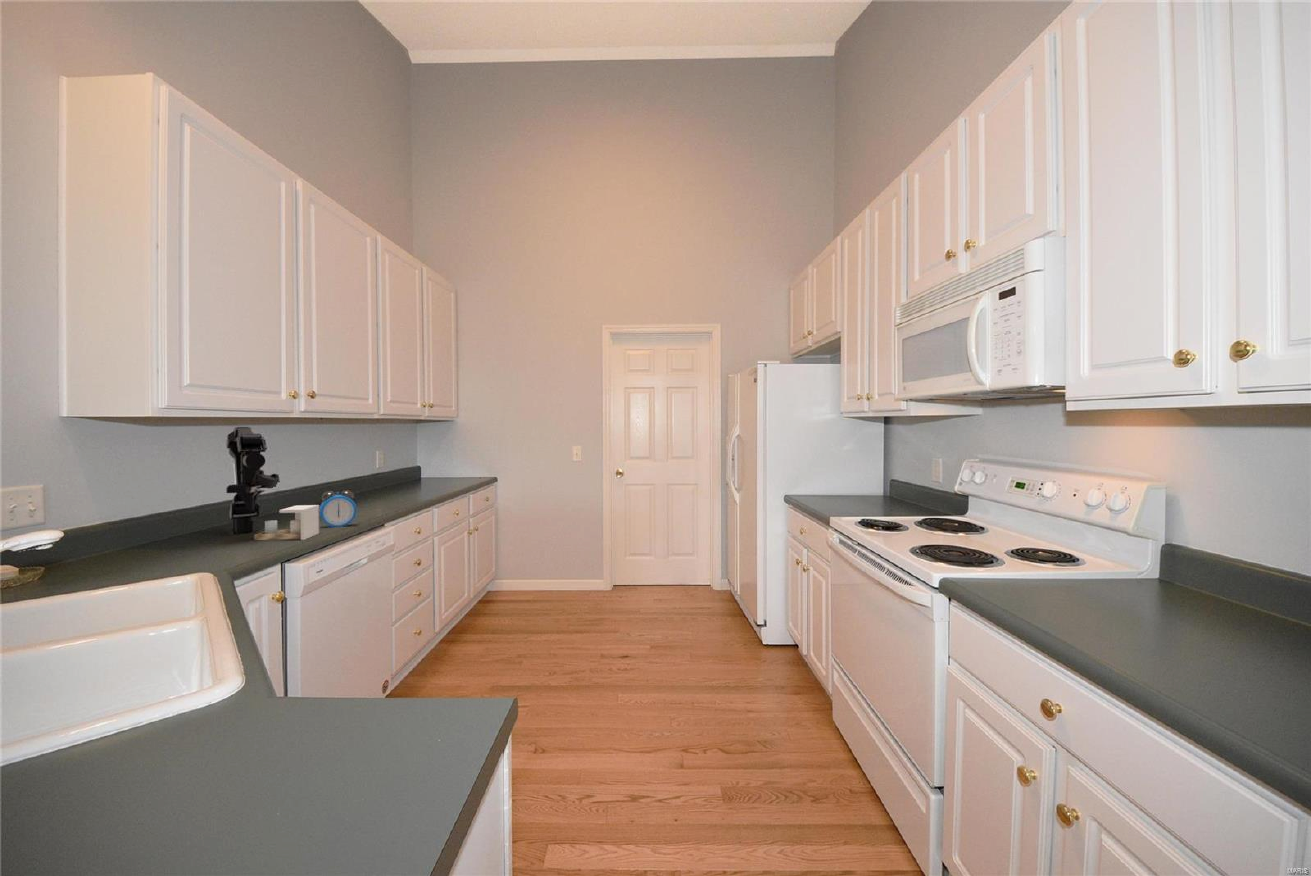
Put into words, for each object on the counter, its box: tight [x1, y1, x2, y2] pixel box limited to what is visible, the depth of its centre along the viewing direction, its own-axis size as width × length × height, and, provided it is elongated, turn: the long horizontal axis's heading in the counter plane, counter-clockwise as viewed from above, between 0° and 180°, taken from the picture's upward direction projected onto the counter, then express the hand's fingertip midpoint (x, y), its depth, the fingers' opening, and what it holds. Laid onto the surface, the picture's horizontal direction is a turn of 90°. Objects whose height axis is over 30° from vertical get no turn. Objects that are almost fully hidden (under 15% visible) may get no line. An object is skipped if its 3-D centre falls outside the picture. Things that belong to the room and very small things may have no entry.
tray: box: [253, 529, 301, 541], centre depth 199 cm, size 15×9×2 cm, turn 99°
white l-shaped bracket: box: [279, 504, 320, 541], centre depth 200 cm, size 8×12×12 cm, turn 10°
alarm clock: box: [319, 490, 358, 528], centre depth 223 cm, size 13×6×15 cm, turn 126°
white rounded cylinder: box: [289, 519, 301, 534], centre depth 199 cm, size 4×4×6 cm
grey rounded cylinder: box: [264, 519, 278, 534], centre depth 198 cm, size 4×4×6 cm
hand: (251, 510), depth 197 cm, fingers closed
